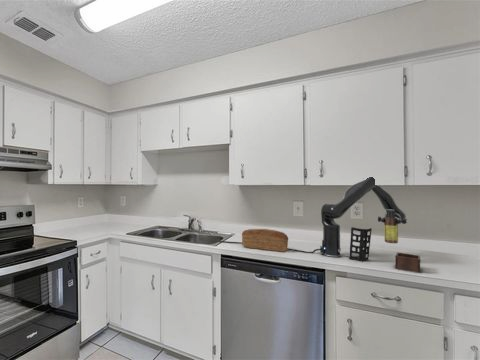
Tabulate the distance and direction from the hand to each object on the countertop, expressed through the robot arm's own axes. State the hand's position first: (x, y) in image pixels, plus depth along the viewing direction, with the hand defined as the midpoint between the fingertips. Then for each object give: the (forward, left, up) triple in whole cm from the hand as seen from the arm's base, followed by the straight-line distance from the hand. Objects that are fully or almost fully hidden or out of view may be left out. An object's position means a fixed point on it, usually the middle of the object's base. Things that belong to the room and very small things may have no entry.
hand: (390, 221), depth 157 cm
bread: (-66, -23, -24) cm, 74 cm away
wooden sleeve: (+8, -9, -24) cm, 27 cm away
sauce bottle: (0, +2, -13) cm, 13 cm away
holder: (-13, -8, -24) cm, 29 cm away
